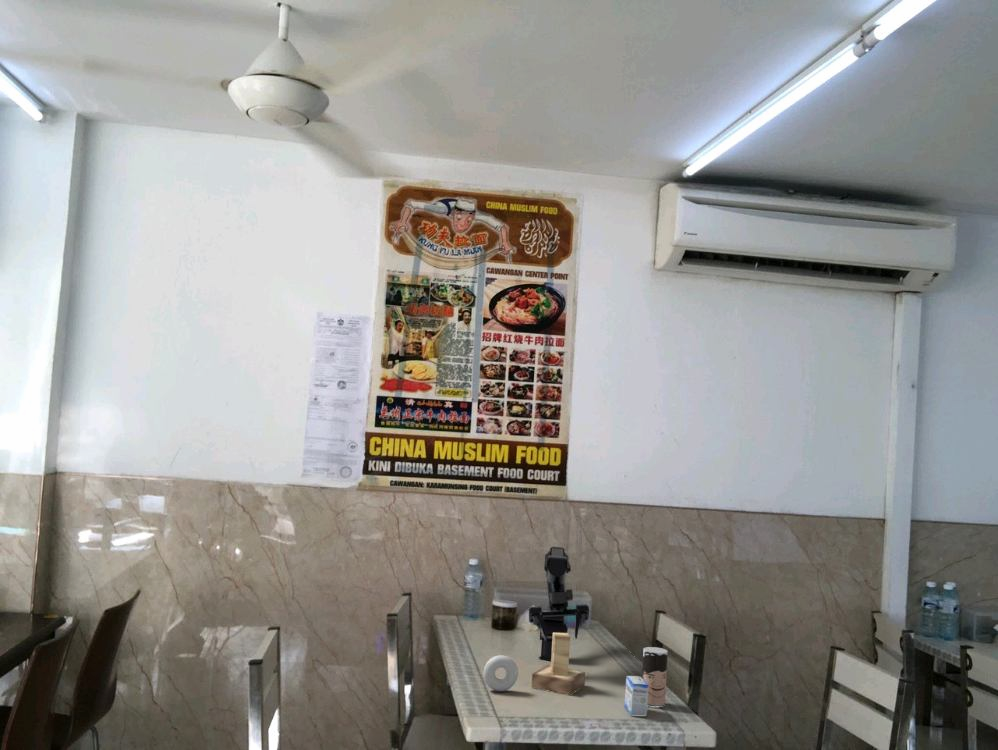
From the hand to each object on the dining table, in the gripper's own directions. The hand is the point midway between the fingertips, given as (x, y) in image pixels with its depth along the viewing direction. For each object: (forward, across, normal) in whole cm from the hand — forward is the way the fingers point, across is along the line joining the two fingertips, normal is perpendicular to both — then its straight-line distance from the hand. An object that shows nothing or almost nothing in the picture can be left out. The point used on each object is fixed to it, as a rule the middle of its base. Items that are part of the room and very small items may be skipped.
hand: (561, 639), depth 264 cm
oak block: (+12, -2, -3) cm, 12 cm away
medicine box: (+29, +17, -14) cm, 36 cm away
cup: (+24, +23, -8) cm, 34 cm away
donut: (+19, -20, -8) cm, 28 cm away
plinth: (+15, -2, 0) cm, 15 cm away
